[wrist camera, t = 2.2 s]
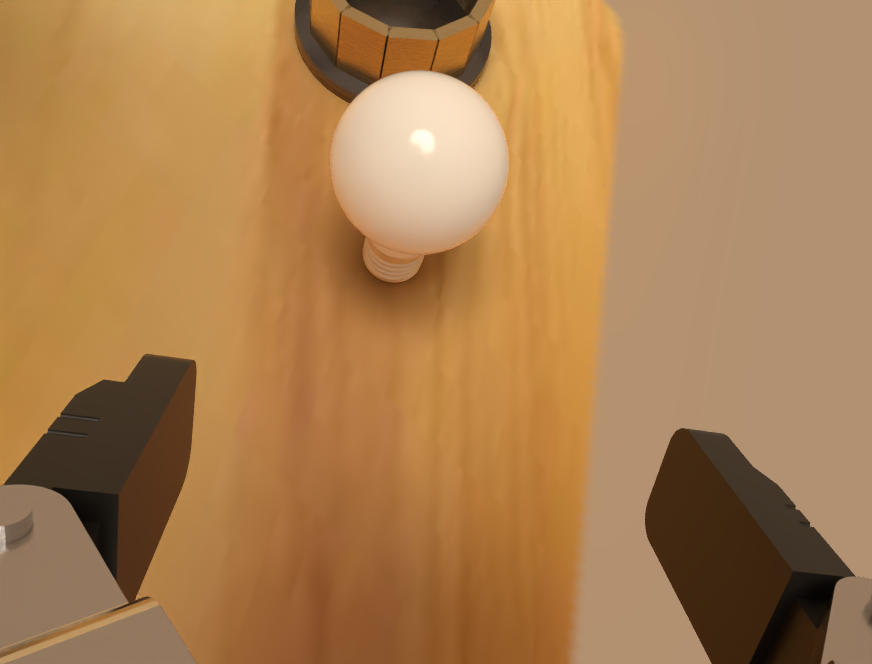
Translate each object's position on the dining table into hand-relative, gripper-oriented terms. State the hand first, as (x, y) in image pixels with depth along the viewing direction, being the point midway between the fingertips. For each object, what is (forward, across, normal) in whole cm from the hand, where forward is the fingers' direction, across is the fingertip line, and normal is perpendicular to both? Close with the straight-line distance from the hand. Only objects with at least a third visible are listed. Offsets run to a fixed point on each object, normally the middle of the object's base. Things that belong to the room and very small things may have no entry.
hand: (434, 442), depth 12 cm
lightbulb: (+22, 0, +4) cm, 22 cm away
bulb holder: (+30, +1, -6) cm, 31 cm away
